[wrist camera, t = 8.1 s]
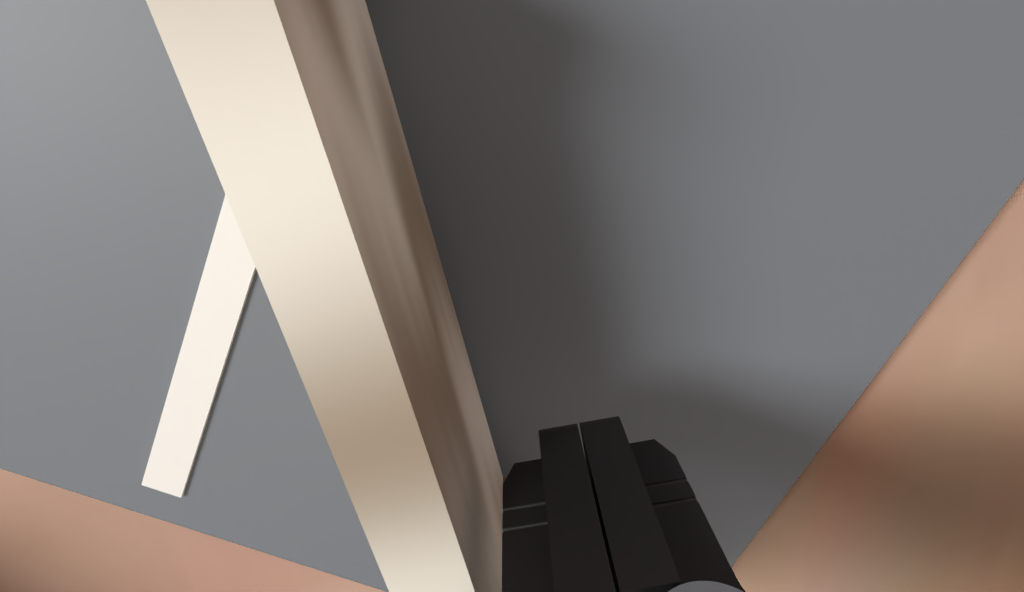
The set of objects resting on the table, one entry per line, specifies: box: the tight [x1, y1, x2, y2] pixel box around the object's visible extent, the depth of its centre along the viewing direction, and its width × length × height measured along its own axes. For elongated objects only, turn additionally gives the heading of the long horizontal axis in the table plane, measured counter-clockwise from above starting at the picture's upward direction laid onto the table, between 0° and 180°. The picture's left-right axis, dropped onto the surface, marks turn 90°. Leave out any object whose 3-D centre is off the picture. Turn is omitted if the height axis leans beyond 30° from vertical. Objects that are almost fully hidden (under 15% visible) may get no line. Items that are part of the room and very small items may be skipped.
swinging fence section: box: [146, 0, 506, 592], centre depth 9 cm, size 14×2×6 cm, turn 13°
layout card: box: [0, 0, 1024, 592], centre depth 11 cm, size 22×30×1 cm
